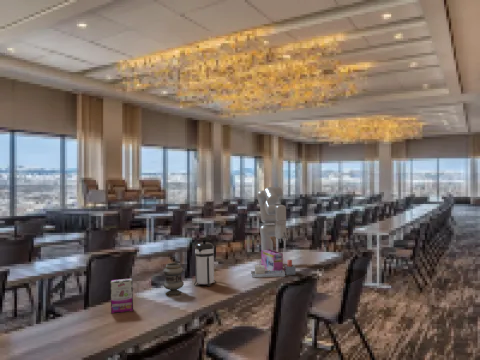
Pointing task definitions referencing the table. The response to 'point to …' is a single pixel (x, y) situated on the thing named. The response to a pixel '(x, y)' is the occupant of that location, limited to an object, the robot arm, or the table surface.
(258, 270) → the crate
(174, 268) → the apothecary jar
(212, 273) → the coffee press
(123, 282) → the candy bar box
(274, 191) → the robot arm
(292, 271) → the square tube with block
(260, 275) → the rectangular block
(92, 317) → the table surface
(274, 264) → the gum box
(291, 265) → the handle peg
